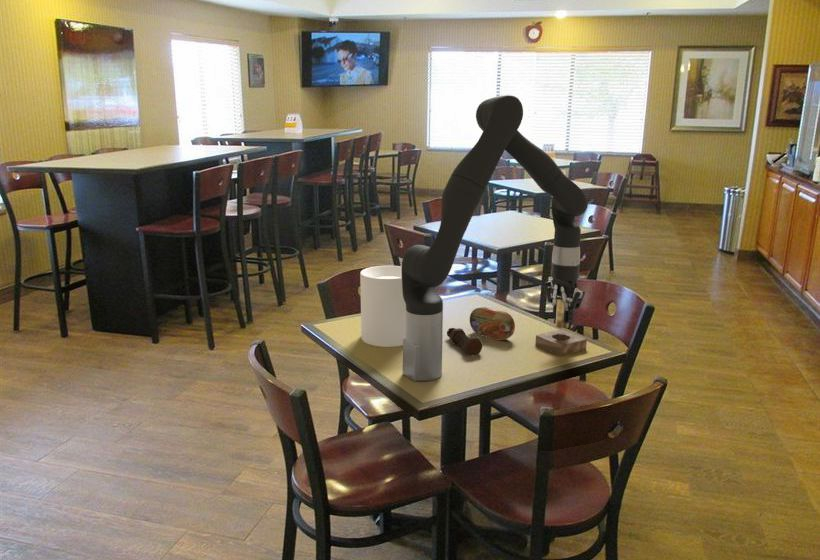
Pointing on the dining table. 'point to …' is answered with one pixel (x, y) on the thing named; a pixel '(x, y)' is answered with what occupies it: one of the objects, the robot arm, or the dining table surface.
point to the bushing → (560, 314)
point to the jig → (561, 342)
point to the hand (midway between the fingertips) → (562, 320)
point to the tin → (492, 323)
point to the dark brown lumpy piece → (465, 341)
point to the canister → (382, 306)
